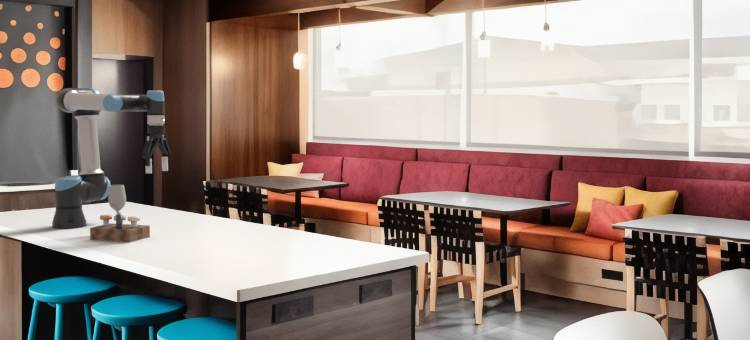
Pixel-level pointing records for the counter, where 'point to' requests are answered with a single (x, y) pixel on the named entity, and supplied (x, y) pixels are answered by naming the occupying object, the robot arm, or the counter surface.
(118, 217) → the gray rod
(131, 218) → the knob
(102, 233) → the brown wooden holder block
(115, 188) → the wineglass
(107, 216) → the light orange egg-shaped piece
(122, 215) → the knob mid
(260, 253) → the counter surface
